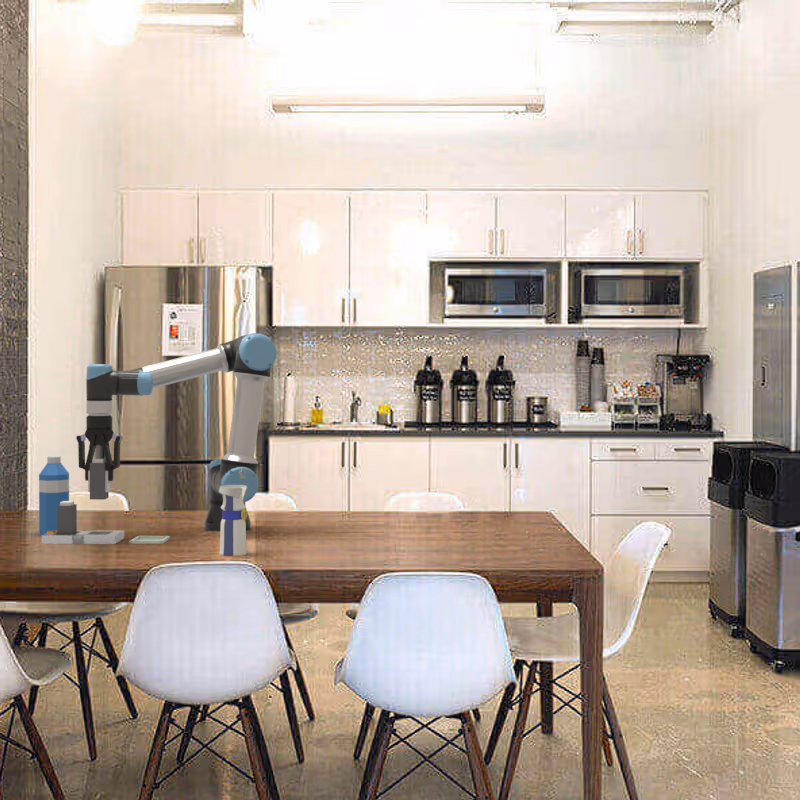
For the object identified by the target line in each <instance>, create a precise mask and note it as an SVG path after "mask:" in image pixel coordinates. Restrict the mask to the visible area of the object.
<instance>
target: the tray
mask: <svg viewBox="0 0 800 800" xmlns="http://www.w3.org/2000/svg"><path fill="white" fill-rule="evenodd" d="M170 539H171V535H137V536H135V537H133V538H132V539H130V540H128V541H129V542H128V544H133V545H135V544H137V545H139V544H145V545H148V544H149V545H150V544H153V545H154V544H156V545H157V544H158V545H159V544H164V543H166V542H167V541H168V540H170Z"/></svg>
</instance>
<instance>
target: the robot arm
mask: <svg viewBox="0 0 800 800" xmlns="http://www.w3.org/2000/svg"><path fill="white" fill-rule="evenodd" d="M276 358H277V348H276V345H275V342H274V341H273V340H272V339H271V338H270V337H269V336H267V335H265V334H262V333H249V334H245V335H241V336H240V337H236V338H234V339H231V340H229V341H226V342H224V343H219V344H218V345H217V346H216V348H213V349H207V350H204V351H200V352H195V353H192V354H188V355H185V356H180V357H177V358H173V359H168V360H165V361H161V362H156V363H153V364H149V365H145V366H142V367H138V368H133V369H130V370H129V369H128V370H114V369H113V365H112V364H111V363H109V364H106V363H104V364H103V363H102V364H101V363H99V364H97V363H92V364H89V365H88V366H87V368H86V378H85V382H86V384H85V385H86V386H85V387H86V389H85V391H86V407H85V409H86V414H87V415H86V422H85V423H86V427H85V429H86V430H85V432H84V433H83V434H81V435H80V434H79V435H76V441H77V446H78V447H77V448H78V453H77V454H78V468H79V469H83V470H84V480H85V482H87V483H88V484H87V487H88V488H87V490H88V491H87V492H88V493H90V463H92V460H93V459H94V457H95V453H96V448H97V446H100V447H101V448H102V450H103V455H104V459H106V464H107V468H108V469H107V470H106V471H105V492H109V493H110V492H111V482H113V481H114V472H115V471H114V470H116V469H119V468H120V466H121V461H120V460H121V442H122V440H123V436H122V435H119V434H115V433H114V430H113V415H111V414H113V396H140V397H142V396H150V395H152V393H153V390H154V389H155V388H160V387H164V386H167V385H171V384H175V383H179V382H182V381H183V382H184V381H188V380H192V379H195V378H199V377H202V376H206V375H210V374H214V373H218V372H221V371H222V372H224V373H230V372H233V375H234V376H235V377H236V379H237V381H236V386H235V387H236V388H235V395H234V402H233V410H232V416H231V423H230V430H229V438H228V446H227V452H226V454H225V455H224V456H222V457H221V459H215V460H211V461H210V463H209V470H208V471H209V508H208V511H207V513H206V516H205V517H206V518H205V520H204V530H205V531H208V532H220V531H221V521H222V509H221V506H222V504H223V495H222V493H219V489H220V486H224V485H245V486H247V491H248V493H247V496H245V495H244V497H243V503H244V505H245V508H246V510H247V507H246V502H249V501H250V500H252V499H253V498H254V497H255V496H256V494H257V492H258V489H259V478H258V475H257V474H258V465H259V461H258V460H257V459H256V457H255V452H256V445H257V438H258V431H259V430H258V429H259V423H260V416H261V411H262V410H261V409H262V401H263V395H264V387H265V383H266V382H267V381H268V380H269V379H270V378H271V371H272V366H273V365H274V363H275V361H276ZM112 439H113V440H112ZM86 440H88V442H89V445H88V452H87V456H86V444H85V441H86ZM111 440H112V441H113V443H114V444H113V459H112V453H111V448H110V447H111V446H110V441H111ZM242 467H243V470H244V471H247V472H246V473H245V477H246V478H244V477H243V478H242V479H240V478H241V474H240V473H239V472H240V471H241V470H242ZM245 522H246V531H247V530H250V529H251V528H252V527H251V526H252V525H251V523H252V522H251V519H250V516H249V513H248V510H247V517H246V519H245Z"/></svg>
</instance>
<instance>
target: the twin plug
mask: <svg viewBox="0 0 800 800" xmlns="http://www.w3.org/2000/svg"><path fill="white" fill-rule="evenodd" d="M77 510H78V509H77V504H76V503H75V501H74V500H69V501H62V502H60V505H58V506H57V535H74V534H76V533H77V530H78V529H77V527H78V526H77V525H78V521H77V518H78V513H77V512H78V511H77Z"/></svg>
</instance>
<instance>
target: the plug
mask: <svg viewBox="0 0 800 800" xmlns="http://www.w3.org/2000/svg"><path fill="white" fill-rule="evenodd" d="M107 469H108V468H107V464H106V459H105V458H93V460H92V463H90V492H89V500H95V501H98V500H100V501H101V500H103V501H104V500H106V499H107V500H108V498H109V494H110V492H105V471H106V470H107Z"/></svg>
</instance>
